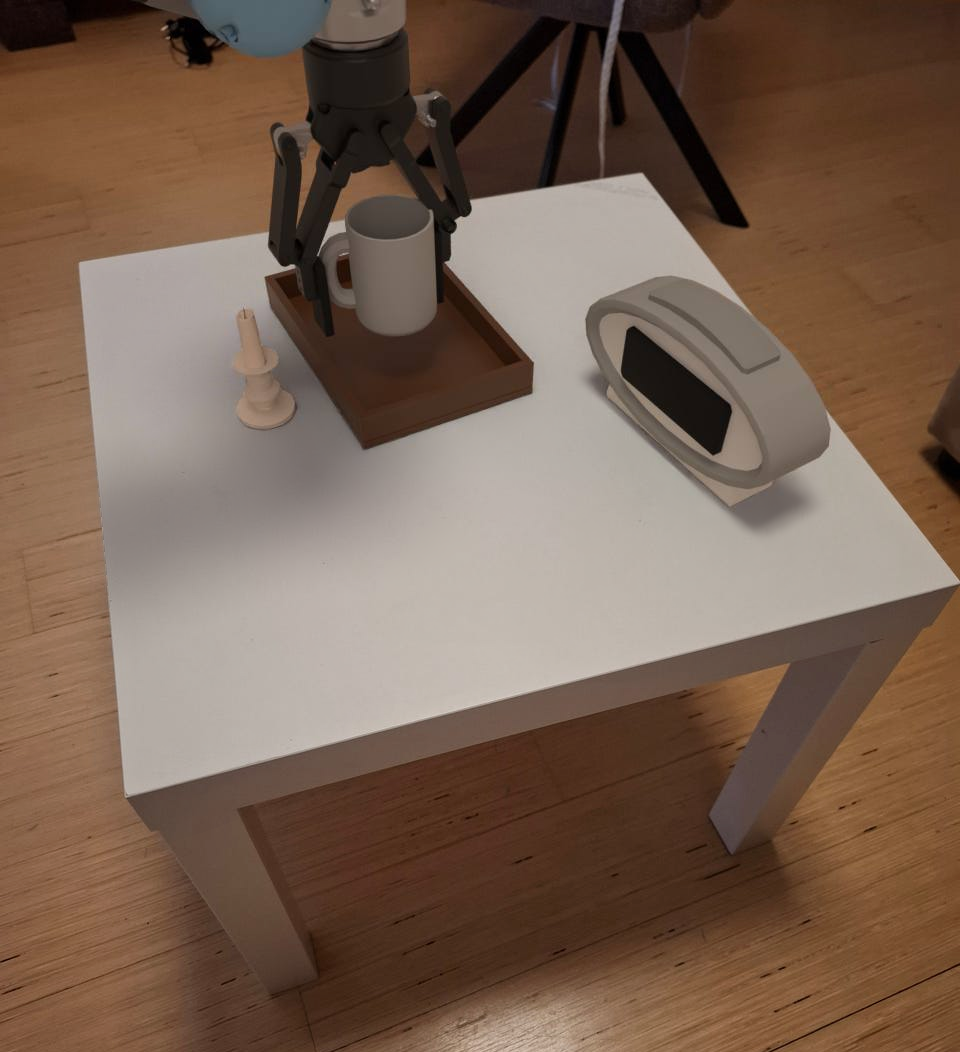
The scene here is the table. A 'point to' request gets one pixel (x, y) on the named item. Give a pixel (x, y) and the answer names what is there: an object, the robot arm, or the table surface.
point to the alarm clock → (708, 384)
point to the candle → (259, 380)
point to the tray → (405, 360)
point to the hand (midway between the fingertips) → (380, 311)
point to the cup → (386, 264)
